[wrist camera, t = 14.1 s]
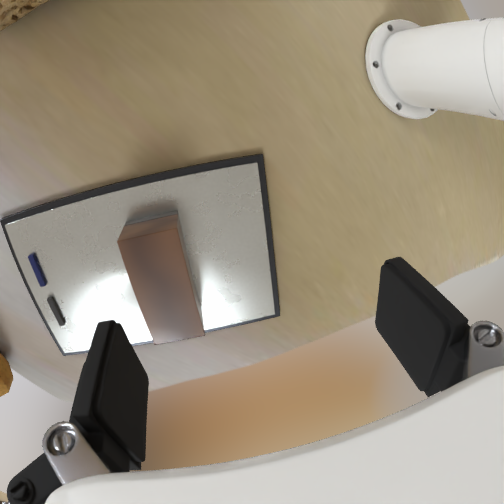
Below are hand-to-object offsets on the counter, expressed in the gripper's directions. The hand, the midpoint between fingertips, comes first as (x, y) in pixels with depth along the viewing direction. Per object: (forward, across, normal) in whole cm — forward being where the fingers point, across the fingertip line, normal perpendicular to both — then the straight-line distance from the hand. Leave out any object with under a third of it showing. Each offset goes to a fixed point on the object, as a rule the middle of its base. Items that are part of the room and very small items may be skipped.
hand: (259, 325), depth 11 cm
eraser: (+22, +7, +8) cm, 24 cm away
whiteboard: (+22, +10, +8) cm, 26 cm away
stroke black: (+21, +22, +11) cm, 32 cm away
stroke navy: (+21, +22, +5) cm, 31 cm away
